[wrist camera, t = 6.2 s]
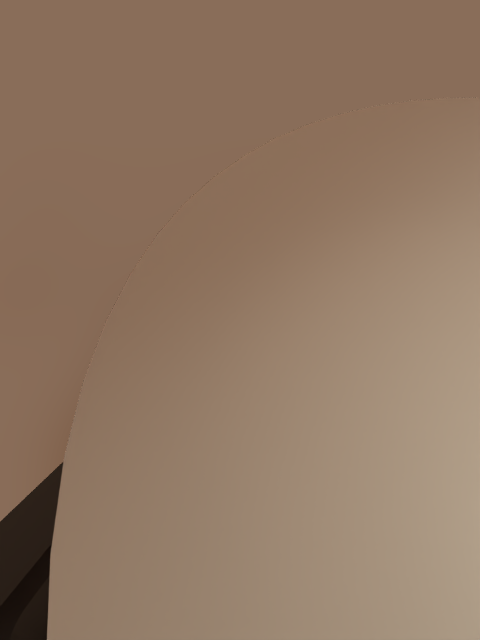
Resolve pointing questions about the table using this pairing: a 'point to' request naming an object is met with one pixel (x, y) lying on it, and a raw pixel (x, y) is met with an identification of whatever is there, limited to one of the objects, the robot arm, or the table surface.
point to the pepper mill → (290, 401)
